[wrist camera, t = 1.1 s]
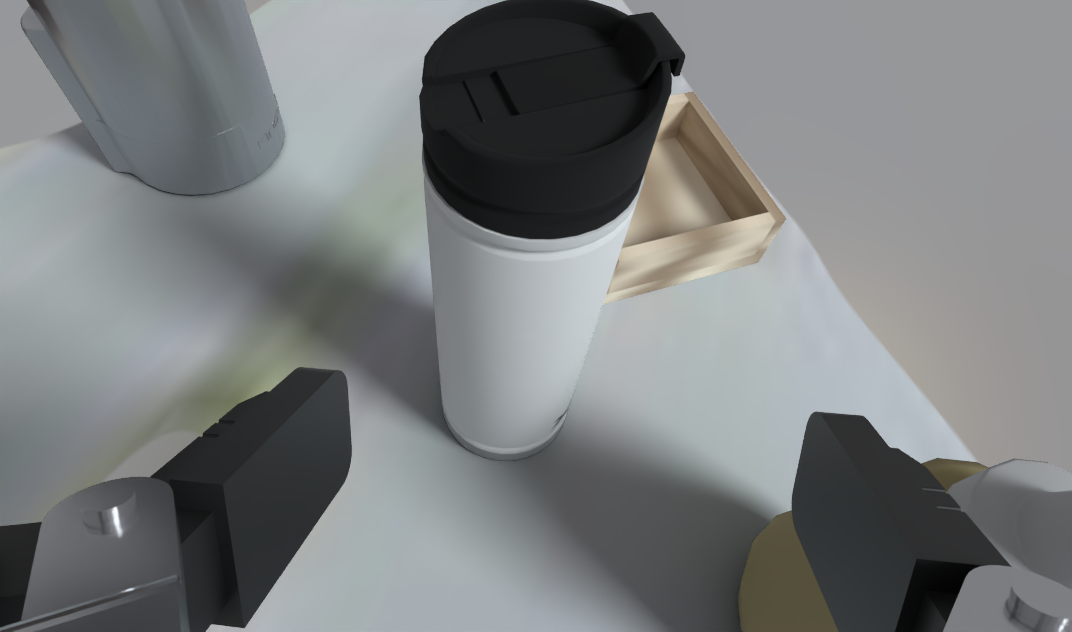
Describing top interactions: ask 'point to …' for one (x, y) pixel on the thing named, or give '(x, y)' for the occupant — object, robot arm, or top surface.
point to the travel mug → (532, 200)
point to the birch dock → (693, 207)
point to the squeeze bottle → (982, 493)
